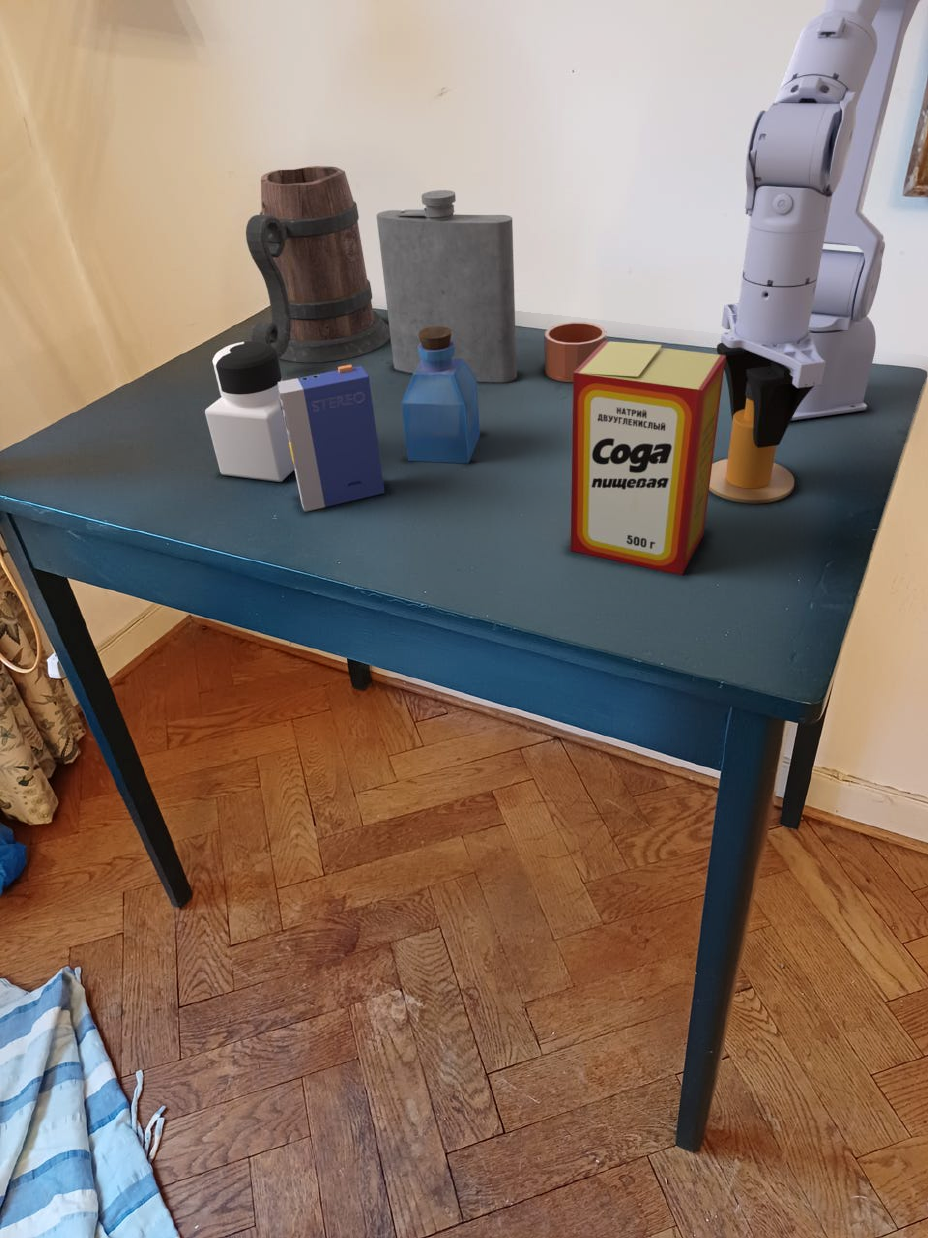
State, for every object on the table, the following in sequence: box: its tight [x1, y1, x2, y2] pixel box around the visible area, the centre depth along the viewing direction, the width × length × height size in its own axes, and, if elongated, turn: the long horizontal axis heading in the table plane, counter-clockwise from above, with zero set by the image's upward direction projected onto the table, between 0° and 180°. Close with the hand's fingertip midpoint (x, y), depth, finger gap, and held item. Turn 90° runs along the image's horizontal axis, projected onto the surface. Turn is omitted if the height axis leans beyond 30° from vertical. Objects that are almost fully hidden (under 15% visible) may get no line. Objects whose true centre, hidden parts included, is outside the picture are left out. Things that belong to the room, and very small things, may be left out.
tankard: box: [245, 165, 391, 363], centre depth 109 cm, size 24×17×20 cm
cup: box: [543, 321, 608, 383], centre depth 103 cm, size 7×7×4 cm
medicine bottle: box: [204, 341, 295, 483], centre depth 87 cm, size 7×7×12 cm
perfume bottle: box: [401, 326, 481, 464], centre depth 87 cm, size 6×6×12 cm
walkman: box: [278, 364, 386, 512], centre depth 80 cm, size 8×3×12 cm, turn 110°
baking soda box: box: [570, 340, 726, 576], centre depth 70 cm, size 10×6×16 cm
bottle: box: [725, 380, 778, 489], centre depth 78 cm, size 4×4×9 cm
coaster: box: [709, 458, 795, 505], centre depth 81 cm, size 8×8×1 cm
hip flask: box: [376, 189, 518, 384], centre depth 100 cm, size 16×4×20 cm, turn 66°
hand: (755, 433), depth 78 cm, fingers closed on bottle, 4 cm apart
